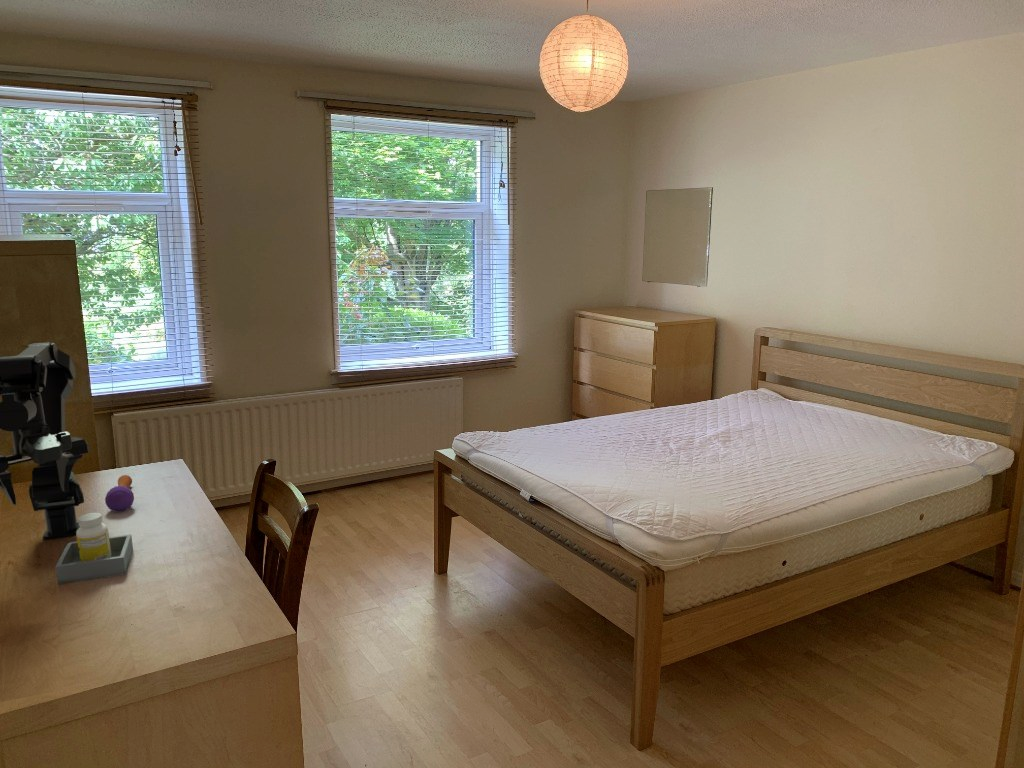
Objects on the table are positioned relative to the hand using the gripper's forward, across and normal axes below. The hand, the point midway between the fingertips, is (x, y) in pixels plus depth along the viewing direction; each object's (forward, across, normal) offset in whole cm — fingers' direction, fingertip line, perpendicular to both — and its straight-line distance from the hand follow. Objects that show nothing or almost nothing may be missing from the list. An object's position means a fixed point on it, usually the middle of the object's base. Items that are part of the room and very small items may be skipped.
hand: (39, 497), depth 149 cm
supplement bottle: (+13, +4, -11) cm, 17 cm away
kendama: (+12, +26, +21) cm, 35 cm away
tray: (+14, +4, -11) cm, 18 cm away
